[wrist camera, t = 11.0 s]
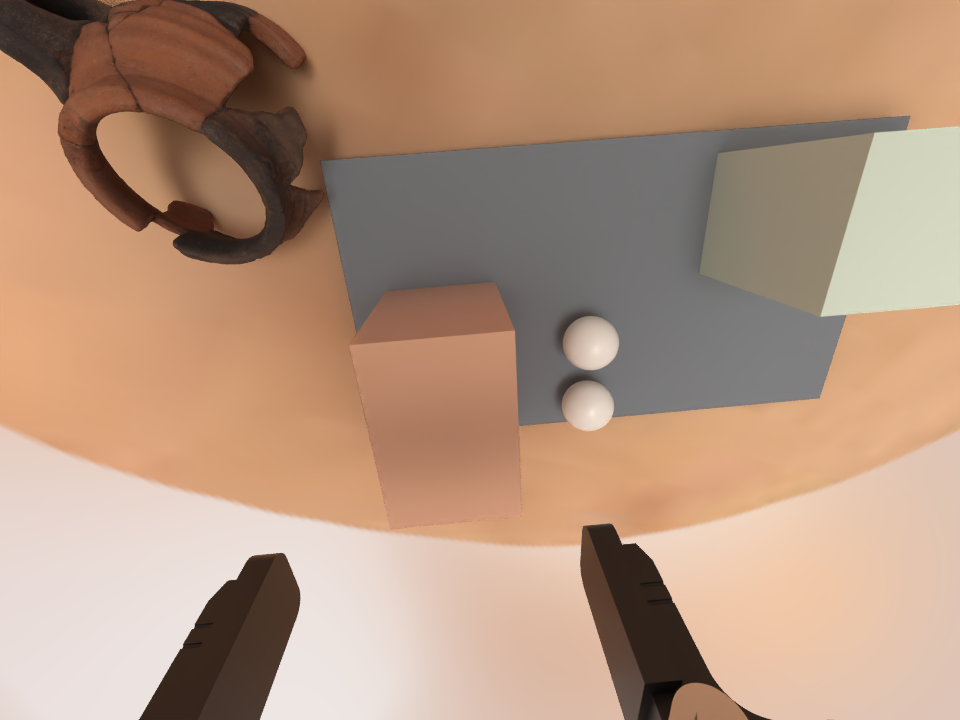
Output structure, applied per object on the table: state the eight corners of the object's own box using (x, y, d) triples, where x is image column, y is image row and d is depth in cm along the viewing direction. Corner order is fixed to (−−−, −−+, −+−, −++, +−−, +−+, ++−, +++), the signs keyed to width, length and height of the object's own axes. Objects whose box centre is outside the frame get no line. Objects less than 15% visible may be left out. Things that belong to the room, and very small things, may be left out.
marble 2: (556, 374, 24) (569, 398, 21) (605, 369, 24) (624, 393, 21) (556, 415, 25) (568, 443, 22) (602, 411, 25) (620, 438, 23)
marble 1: (557, 311, 22) (571, 328, 20) (609, 307, 22) (630, 323, 20) (556, 359, 24) (570, 381, 21) (605, 355, 24) (625, 376, 21)
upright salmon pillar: (385, 291, 21) (348, 345, 14) (494, 281, 21) (514, 330, 14) (409, 429, 25) (390, 529, 18) (503, 420, 25) (522, 516, 18)
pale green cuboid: (698, 273, 22) (820, 316, 15) (717, 153, 19) (874, 132, 12) (855, 260, 22) (1052, 296, 15) (893, 139, 20) (1151, 111, 12)
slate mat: (326, 162, 20) (319, 160, 19) (890, 118, 20) (910, 115, 19) (381, 430, 26) (379, 438, 25) (807, 391, 27) (819, 398, 26)
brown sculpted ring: (376, 76, 19) (339, 166, 14) (312, 215, 25) (271, 311, 20) (38, -181, 13) (-226, -179, 8) (64, 83, 19) (-78, 174, 14)
